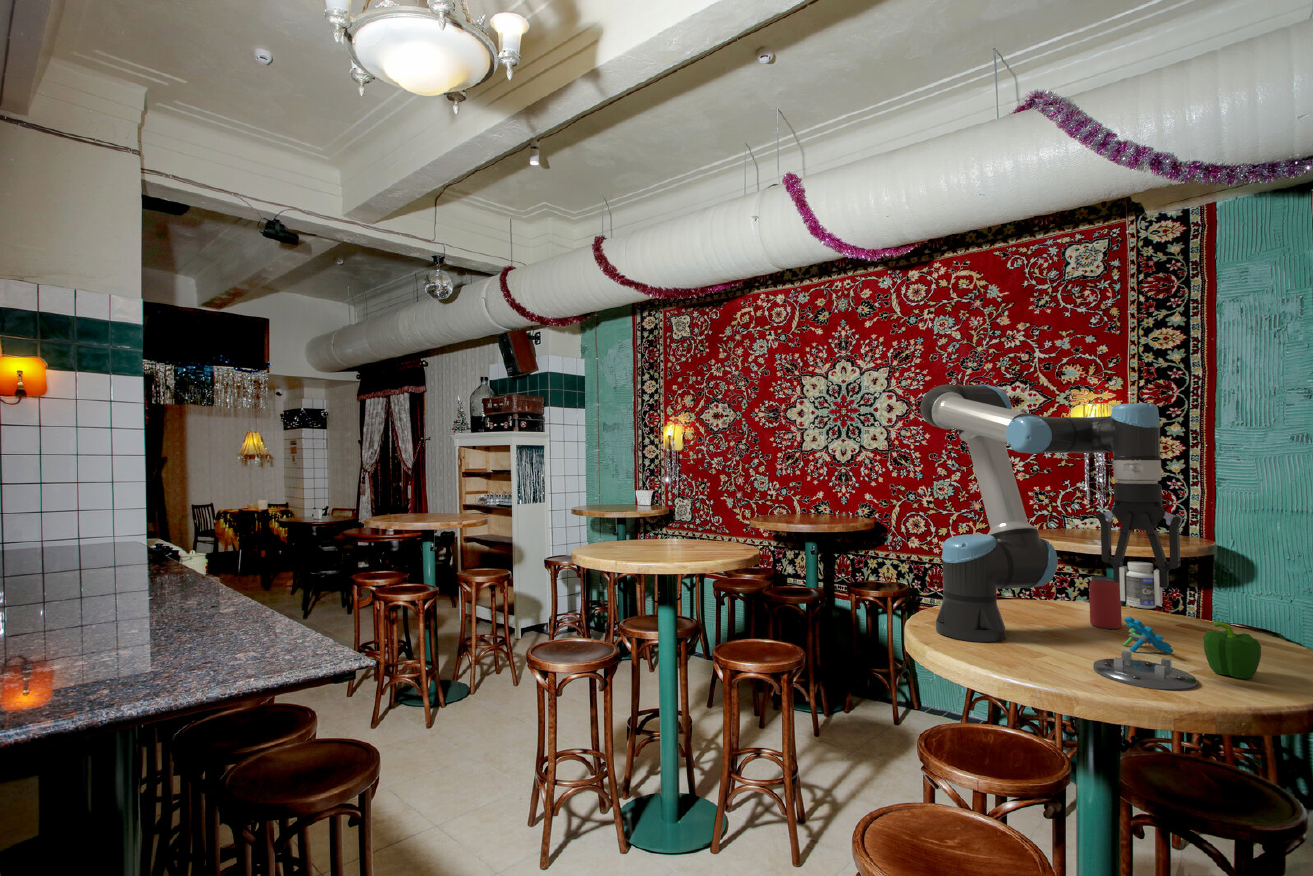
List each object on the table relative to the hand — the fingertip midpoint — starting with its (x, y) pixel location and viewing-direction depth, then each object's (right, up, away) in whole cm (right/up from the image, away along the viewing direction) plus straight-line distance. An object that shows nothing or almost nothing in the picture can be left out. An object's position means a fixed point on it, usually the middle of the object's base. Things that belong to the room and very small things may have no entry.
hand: (1141, 601), depth 126 cm
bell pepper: (+18, -14, 0) cm, 23 cm away
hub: (0, -14, 0) cm, 14 cm away
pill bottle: (0, -1, 0) cm, 1 cm away
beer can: (+18, -16, +36) cm, 43 cm away
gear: (+13, -15, +15) cm, 25 cm away
